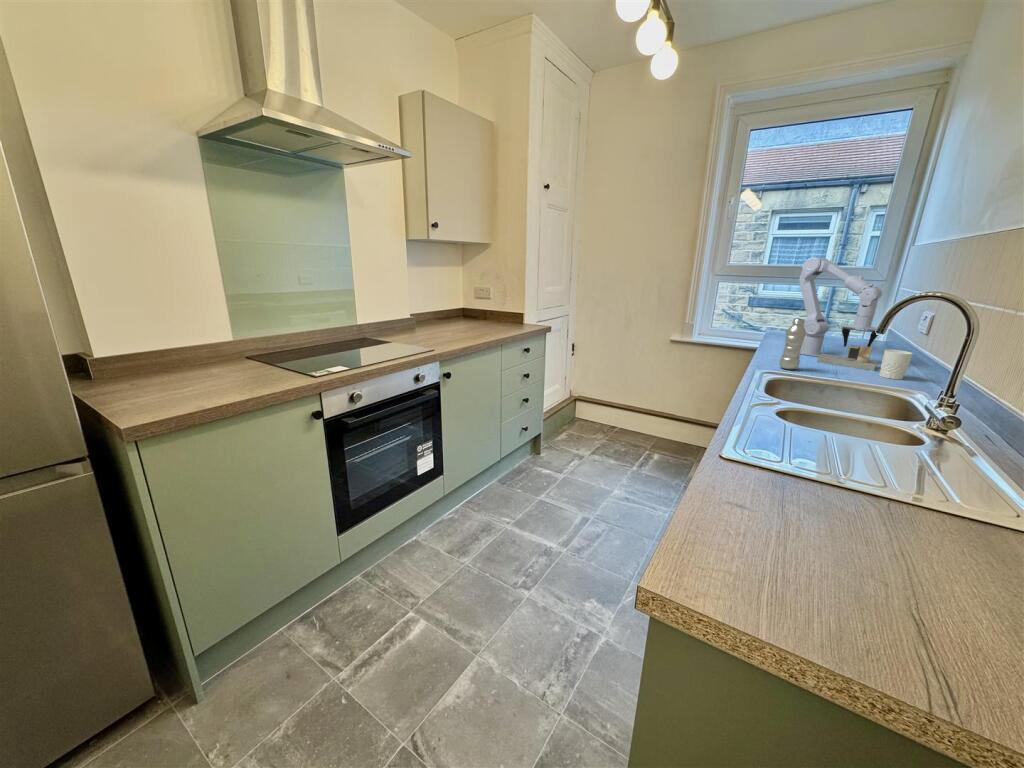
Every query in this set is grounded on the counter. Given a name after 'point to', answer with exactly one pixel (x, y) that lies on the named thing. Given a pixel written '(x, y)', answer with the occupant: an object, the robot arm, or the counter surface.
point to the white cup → (895, 363)
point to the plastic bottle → (793, 344)
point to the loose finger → (852, 351)
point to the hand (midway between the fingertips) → (856, 347)
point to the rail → (846, 362)
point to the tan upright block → (863, 354)
